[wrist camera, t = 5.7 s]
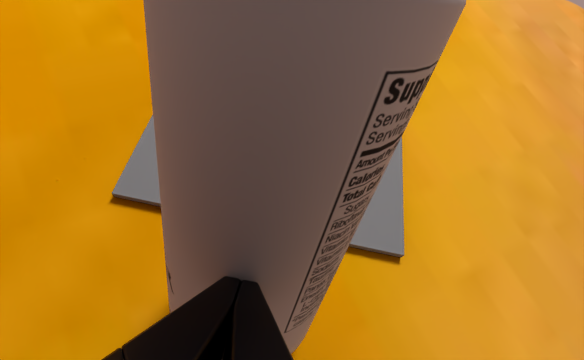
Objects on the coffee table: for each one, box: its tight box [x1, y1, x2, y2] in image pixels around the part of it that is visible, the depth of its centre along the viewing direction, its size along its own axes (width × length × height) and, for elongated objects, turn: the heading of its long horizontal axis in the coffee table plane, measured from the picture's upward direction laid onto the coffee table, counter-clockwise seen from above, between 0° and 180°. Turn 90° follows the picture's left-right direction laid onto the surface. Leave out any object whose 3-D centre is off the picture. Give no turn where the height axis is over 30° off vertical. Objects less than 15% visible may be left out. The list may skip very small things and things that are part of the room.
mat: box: [112, 115, 404, 257], centre depth 23 cm, size 22×16×1 cm
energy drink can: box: [144, 0, 466, 359], centre depth 10 cm, size 6×6×15 cm
